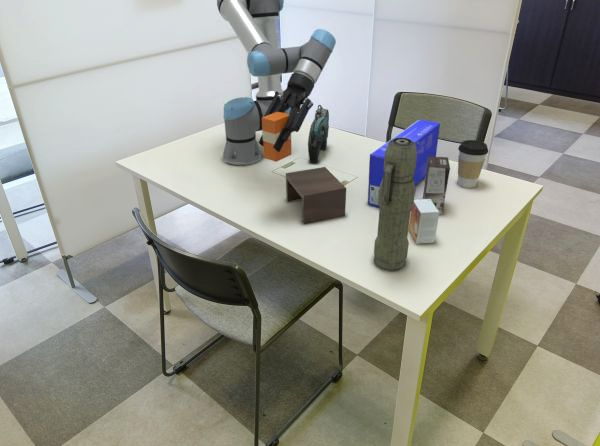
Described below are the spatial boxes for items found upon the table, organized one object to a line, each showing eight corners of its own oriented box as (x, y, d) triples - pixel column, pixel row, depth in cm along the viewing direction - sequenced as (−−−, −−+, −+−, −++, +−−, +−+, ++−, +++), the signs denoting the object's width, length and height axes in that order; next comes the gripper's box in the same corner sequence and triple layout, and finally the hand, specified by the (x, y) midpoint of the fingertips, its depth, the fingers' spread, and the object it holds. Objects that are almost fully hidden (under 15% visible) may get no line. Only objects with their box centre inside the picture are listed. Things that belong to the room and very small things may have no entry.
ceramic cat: (317, 145, 205) (317, 98, 195) (332, 146, 204) (333, 99, 193) (305, 163, 189) (304, 113, 178) (321, 165, 187) (321, 115, 177)
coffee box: (442, 215, 154) (450, 168, 145) (422, 213, 155) (428, 167, 146) (441, 201, 161) (448, 156, 153) (421, 199, 162) (428, 155, 154)
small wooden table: (286, 200, 163) (285, 173, 158) (324, 193, 167) (324, 166, 162) (303, 224, 149) (303, 195, 144) (345, 216, 154) (346, 188, 148)
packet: (263, 157, 145) (261, 117, 138) (279, 150, 149) (277, 111, 143) (276, 162, 142) (274, 121, 136) (291, 154, 147) (290, 114, 140)
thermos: (413, 256, 134) (429, 137, 116) (395, 278, 126) (409, 153, 108) (384, 246, 138) (396, 130, 120) (365, 266, 130) (374, 145, 112)
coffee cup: (486, 183, 172) (494, 144, 164) (473, 193, 166) (481, 152, 158) (460, 175, 178) (467, 137, 170) (447, 184, 172) (453, 145, 164)
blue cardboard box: (414, 164, 187) (419, 118, 177) (434, 169, 183) (441, 122, 173) (365, 204, 160) (369, 152, 150) (388, 211, 156) (393, 158, 146)
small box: (408, 229, 146) (412, 199, 141) (426, 228, 146) (430, 198, 141) (415, 244, 139) (420, 212, 134) (434, 243, 140) (439, 211, 134)
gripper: (333, 91, 142) (298, 160, 139) (286, 81, 152) (253, 145, 149) (322, 76, 135) (286, 149, 133) (274, 67, 145) (239, 134, 143)
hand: (268, 147), depth 141 cm, fingers closed on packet, 5 cm apart
